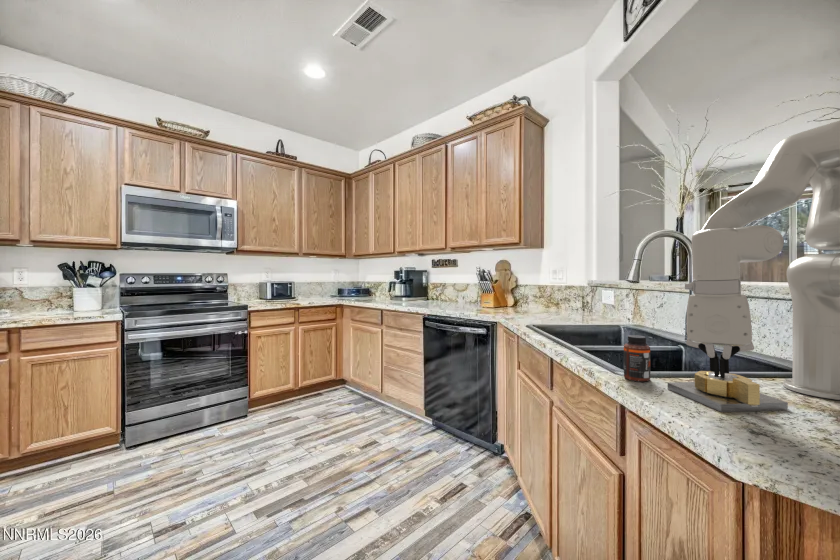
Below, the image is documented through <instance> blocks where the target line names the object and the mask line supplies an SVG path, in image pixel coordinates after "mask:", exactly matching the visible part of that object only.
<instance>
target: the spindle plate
mask: <svg viewBox="0 0 840 560" xmlns="http://www.w3.org/2000/svg"><path fill="white" fill-rule="evenodd" d="M732 374H733V373H730V374H728V373H725V378H721V377H720V371H719V377H714V372H709V373H708V377H710V378H714V379H719V380H725V381H733V378H737V376H735V375H732ZM667 390H670V391H671V392H674V393H676V394H679V395H681V396H683V397H685V398H687V399H690V400H693V401H695V402H697V403H699V404H702V405H705V406H706V407H709V408H711V409H714V410H716V411H718V412H720V413H726V412H730V413H732V412H756V411H757V412H759V411H760V412H761V411H762V412H763V411H788V410H789V405H788V401H784V400H781V399H779V398H776V397H774V396H773V397H772V396H770V395H766V394H763V393H761V392H760V405H749V404H746V403H744V402H742V401H740V400H737V399H735V398H733V397H728V396H727V397H725V396H720V395H715V394H711V393H707V392H704V391H702V390H700V389H698V388H696V387H695V381H685V382H683V381H678V382H676V381H675V382H667Z"/></svg>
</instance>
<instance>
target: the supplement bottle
mask: <svg viewBox="0 0 840 560" xmlns="http://www.w3.org/2000/svg"><path fill="white" fill-rule="evenodd" d="M646 339H647V338H646V336H643V335H633V334H632V335H631V334H630V335H629V334H628V335H627V341H628V342H626V343H625V344H624V345H623V377H624V378H625V379H627V380H629V381H632V382H641V383H642V382H643V383H646V382H649V381H650V380H651V347H650V345H649V344H647V340H646Z"/></svg>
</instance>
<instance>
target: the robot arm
mask: <svg viewBox="0 0 840 560" xmlns="http://www.w3.org/2000/svg"><path fill="white" fill-rule="evenodd" d="M808 185H810V187H811V189H812V198H811V199H812V200H811V205H810V209H809V213H808V219H807V223H806V228H805V233H804V234H805V236H804V238H805V242H806V244H807V245H808V246H809V247H810V248H813V249H816V250H823V251H830V250H831V251H834V250H835V251H837V250H838V251H840V120H836V121H833V122H829V123H827V124H824V125H820V126H817V127H814V128H811V129H807V130H804V131H801V132H797V133H794V134H792V135H790V136H789V135H788V137H786V138H784V139H782V140H781V141H779V143H777V144H776V145H775V146H774V148H773V149H772V151H771V153H770V155H769V156H768V157H767V159H766V161H765V163H764V164H763V166H762V167H761V169H760V170H759V171H758V173H757V176H756V177H755V178H754V180H753V182H752V183H751V185H750V186H748V188H746V189H745V190H743V191H742V192H740V193H739V194H737V195H736V196H734V197H733V198H732V199H730V200H729V201H728V202H726V203H725V204H723V205H722V206H720V207H719V208H718V209H717V210H716V211H715V212H713V214H711V216H710V217H709V218H708V220H706V222H705V224H704V225H703V227H702V228H701V230H698V231H695V232H694V233H693V234H692V236H691V256H692V257H691V259H692V260H691V261H692V262H691V263H692V279H693V280H692V281H691V282H688V283H684V290H687V291H688V290H689V291H691V292H692V293H693V294H690V295H688V300H687V307H686V336H687V339H686V342H685V345H686V346H689V347H693V348H697V349H699V350H700V351H702V352H703V353H705V355H707V357H708V358H709V371H710V372H714V377H719V372H720V377H721V378H725V373H728V374H729V373H730V363H729V362H730V360H729V359H730V358H731V357H733V356H734V355H736V354H738V353H739V352H750V351H754V350H755V346H754V344H753V343H754V342H753V329H752V319H751V309H750V304H749V300H748V297H747V295H746V294H742V287H741V286H742V285H741V281H742V280H741V263H760V262H765V261H768V260H771V259H774V258H775V257H777V256H778V254H780V253H781V252H782V250H783V248H784V240H785V239H784V236H783V235H782V233H781V232H780V231H779V230H778V229H776V228H774V227H772V226H768V225H763V224H761V225H758V224H756V225H748V224H750V223H752V222H754V221H757V220H759V219H762V218H764V217H767V216H769V215H772V214H775V213H777V212H779V211H782V210H784V209H786V208H788V207H790V206H792V205H793V204H795V203H797V202H798V201H799V200H800V199H801V197H802V196H803V195H804V192H805V190H806V188H807V187H808ZM746 225H748V226H746ZM786 281H787V284H788V288H789V292H790V296H791V304H792V305H791V306H792V378H789V379H788V378H787V379H784V380H783V381H782V385H783V387H784V388H786V389H787V390H791V391H793V392H796V393H800V394H803V395H807V396H810V397H811V396H812V397H816V398H817V397H818V398H822V399H828V400H836V401H837V400H838V401H840V252H839V253H837V252H835V253H834V252H833V253H816V254H809V255H804V256H801V257H798V258H796V259H794V260H793V261H791V263H790V264H789V265H788V266H787V269H786ZM715 345H722V346H723V349H722V352H721V353H720V356H718V352H717V351H716V348H715Z"/></svg>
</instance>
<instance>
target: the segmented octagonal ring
mask: <svg viewBox="0 0 840 560" xmlns="http://www.w3.org/2000/svg"><path fill="white" fill-rule="evenodd" d="M709 372H710V370H699V371H697V372H695V373H694V382H695V387H696V388H698V389H700V390H702V391H704V392H707V393H711V394H715V395H720V396H725V397H727V396H728V397H733V398H735V399H737V400H740V401H742V402H744V403H746V404H749V405H760V393H761V392H760V391H761V389H760V387H761V386H760V383H756V382H755V381H753V380H752V379H750V378H749V377H746V376H742V375H740V374H736V373H730V372H729V374H732V375H735V376H737V378H733V381H725V380H719V379H714V378H710V377H708V373H709Z"/></svg>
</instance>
